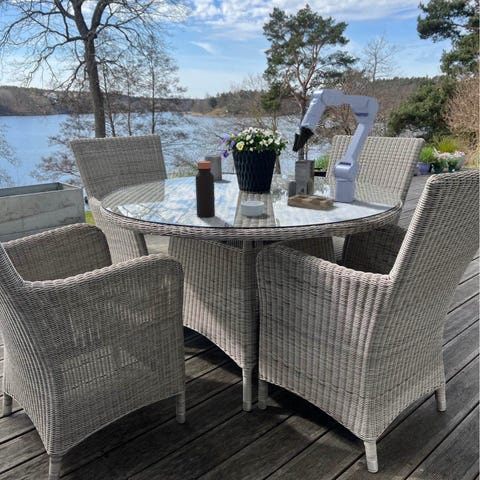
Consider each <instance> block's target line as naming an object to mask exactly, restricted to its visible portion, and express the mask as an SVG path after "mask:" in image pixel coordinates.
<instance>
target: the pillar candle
mask: <svg viewBox="0 0 480 480" xmlns="http://www.w3.org/2000/svg"><path fill="white" fill-rule="evenodd" d="M204 161H209V162H211V169H210V172H211V173H212V174H213V175H214V182H215V181H216V182H217V181H221V180H222V179H223V172H222V171H223V170H222V169H223V168H222V167H223V166H222V164H223V163H222V155H221V154H220V155H219V154H208V155H204Z"/></svg>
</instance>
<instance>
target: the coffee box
mask: <svg viewBox="0 0 480 480" xmlns="http://www.w3.org/2000/svg"><path fill="white" fill-rule="evenodd" d="M315 163H316V160H315V159H312V160H311V159H303V158H302V159H300V160H295V163H294V180H296V182H297V188H296V195H307V196H314V192H315V171H316V170H315V165H316V164H315Z"/></svg>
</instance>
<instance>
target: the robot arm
mask: <svg viewBox="0 0 480 480" xmlns="http://www.w3.org/2000/svg"><path fill="white" fill-rule="evenodd" d="M342 104H347V105H348V104H349V105H350V106H349V107H350V108H351V111H352V113H353V115H354V117H355V119H356V121H357V122H358V125H357V126H356V130H355V131H354V134H353V136H352V139H351V142H350V144H349V146H348V148H347V150H346V152H345V155H344V156H343V157H342V158H340V159H338V161H337V163H336V164H335V165H334V167H333V169H332V175H333V177H334V179H335V193H334V194H335V195H334V197H335V198H333V202H340V203H348V204H349V203H351V202H354V201H356V200H357V197H355V196H356V195H355V194H356V183H355V181H356V179H357V178H358V176H359V170H360V167H361V166H360V163H359V161H358V159H359V157H360V155H361V152H362V150H363V147H364V145H365V144H366V143H365V142H366V140H367V139H368V136H369V134H370V132H371V129H372V127H373V125H374V121H375V118H376V116H377V114H378V112H379V109H380V108H379V107H380V106H379V102H378V100H377V98H376V97H370V96H368V95H367V96H366V95H360V94H359V95H358V94H344V93H343V91H340V89H339V88H335V89H332V90H331V89H330V88H325V89H316V90H315V91H313V93H311V95H310V102H309V106H308V108H307V111H306V112H305V114H304V116H303V118H302V121H301V123H300V122H298V123H297V124H296V126H297V127H298V129H299V133H296V132H295V133H294V139H293V140H294V141H293V145H292V149H291V151H293V152H294V153H298V152H299V151H300V150H303V148H304V147H305V146H306V144H307V143H308V141H309V140H310V139H311V138H312V137H313V136H315V130H316V127H317V125H318V123H319V121H320V119H321V116H323V113H324V111H325V109H326V108H327V106H330V107H331V106H332V107H340V106H341V105H342Z"/></svg>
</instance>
